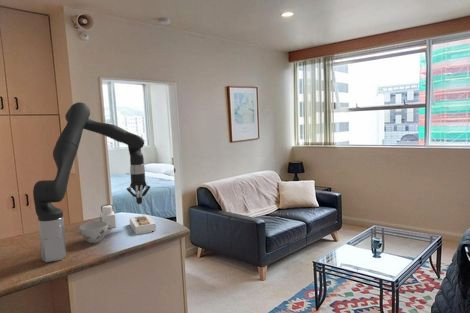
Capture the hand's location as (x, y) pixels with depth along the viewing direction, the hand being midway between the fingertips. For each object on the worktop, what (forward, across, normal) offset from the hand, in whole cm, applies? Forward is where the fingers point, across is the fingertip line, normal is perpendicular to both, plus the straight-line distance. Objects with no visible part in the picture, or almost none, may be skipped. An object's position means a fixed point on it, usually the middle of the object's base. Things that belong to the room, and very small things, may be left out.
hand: (139, 203), depth 182 cm
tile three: (+10, 0, 0) cm, 10 cm away
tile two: (+9, 0, -6) cm, 11 cm away
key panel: (+12, 0, -6) cm, 13 cm away
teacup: (+12, -23, -14) cm, 29 cm away
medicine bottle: (+12, -16, +6) cm, 21 cm away
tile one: (+9, 0, -12) cm, 15 cm away
